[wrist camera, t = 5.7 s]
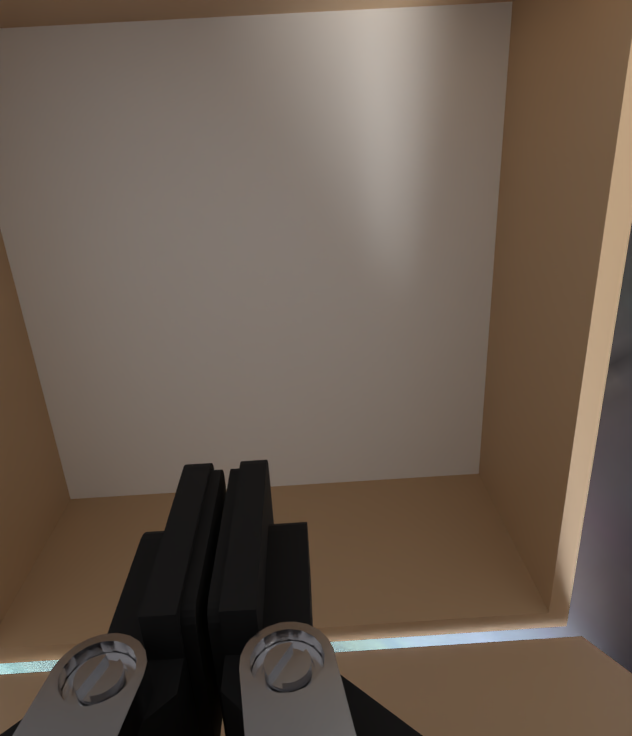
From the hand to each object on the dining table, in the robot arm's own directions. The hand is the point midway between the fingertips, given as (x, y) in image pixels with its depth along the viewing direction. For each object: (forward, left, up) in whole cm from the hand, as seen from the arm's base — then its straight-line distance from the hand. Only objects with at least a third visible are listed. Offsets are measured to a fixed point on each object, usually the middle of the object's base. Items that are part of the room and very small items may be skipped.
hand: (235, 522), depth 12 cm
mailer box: (-2, 0, -11) cm, 11 cm away
